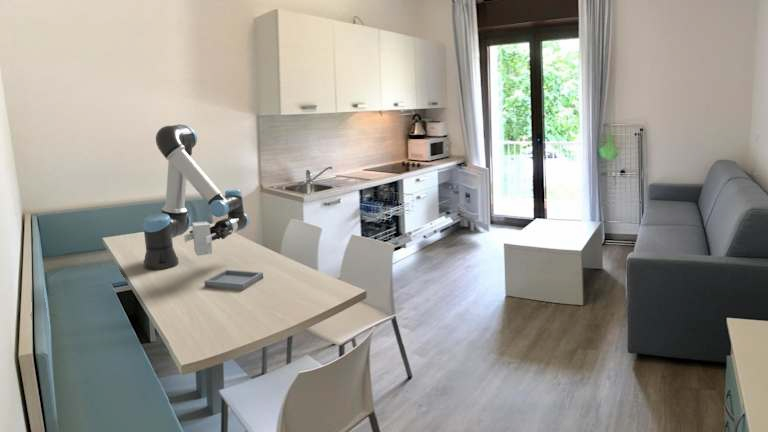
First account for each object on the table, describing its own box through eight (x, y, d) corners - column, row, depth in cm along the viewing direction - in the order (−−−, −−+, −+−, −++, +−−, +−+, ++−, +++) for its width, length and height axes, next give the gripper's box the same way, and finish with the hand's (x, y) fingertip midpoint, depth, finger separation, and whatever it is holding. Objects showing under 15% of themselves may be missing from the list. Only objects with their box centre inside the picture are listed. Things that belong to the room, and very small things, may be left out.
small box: (212, 253, 237) (209, 224, 234) (197, 256, 234) (194, 226, 231) (209, 249, 244) (206, 220, 241) (194, 251, 241) (191, 222, 238)
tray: (204, 286, 228) (204, 281, 227) (226, 275, 243) (226, 269, 242) (243, 290, 222) (242, 284, 222) (263, 278, 237) (262, 272, 237)
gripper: (247, 236, 252) (219, 249, 231) (205, 233, 258) (174, 246, 238) (246, 220, 250) (218, 232, 229) (203, 218, 257) (172, 229, 236)
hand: (195, 239), depth 233 cm, fingers closed on small box, 10 cm apart
